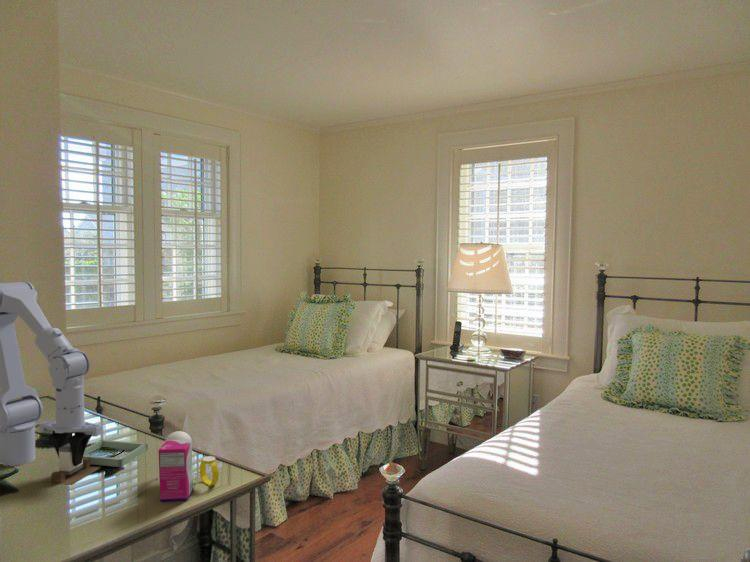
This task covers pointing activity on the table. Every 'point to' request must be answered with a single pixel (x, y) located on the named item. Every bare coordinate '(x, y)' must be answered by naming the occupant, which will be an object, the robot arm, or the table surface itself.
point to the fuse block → (74, 477)
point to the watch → (211, 462)
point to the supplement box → (175, 470)
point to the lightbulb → (178, 436)
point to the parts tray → (117, 462)
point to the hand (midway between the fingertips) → (71, 463)
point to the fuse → (67, 460)
